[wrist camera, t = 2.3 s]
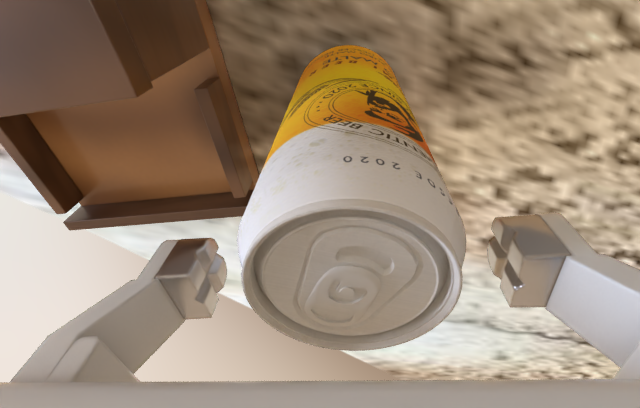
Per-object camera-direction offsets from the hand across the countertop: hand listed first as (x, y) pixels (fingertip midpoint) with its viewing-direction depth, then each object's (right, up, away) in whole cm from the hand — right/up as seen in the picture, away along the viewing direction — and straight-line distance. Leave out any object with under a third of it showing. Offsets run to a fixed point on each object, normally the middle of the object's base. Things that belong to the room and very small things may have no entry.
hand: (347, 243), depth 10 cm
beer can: (+1, +8, +10) cm, 13 cm away
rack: (-13, +8, +11) cm, 19 cm away
